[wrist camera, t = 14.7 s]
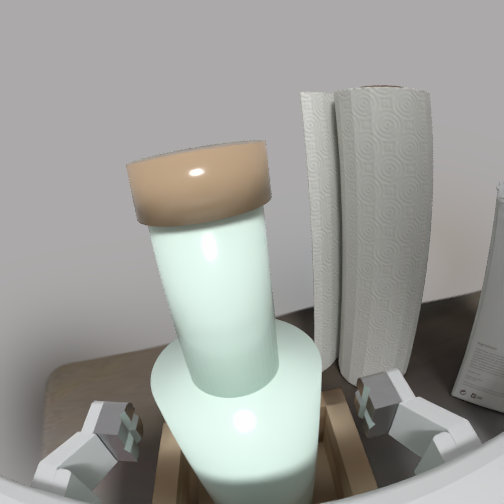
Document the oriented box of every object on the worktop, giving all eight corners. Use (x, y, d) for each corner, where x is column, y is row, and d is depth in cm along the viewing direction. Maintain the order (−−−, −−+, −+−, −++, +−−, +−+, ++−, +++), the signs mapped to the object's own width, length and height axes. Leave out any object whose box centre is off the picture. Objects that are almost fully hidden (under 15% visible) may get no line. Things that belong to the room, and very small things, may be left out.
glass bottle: (277, 457, 16) (235, 139, 10) (330, 507, 12) (366, 136, 6) (208, 495, 14) (76, 174, 7) (255, 555, 10) (88, 187, 3)
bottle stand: (389, 566, 8) (418, 550, 6) (166, 589, 8) (127, 579, 6) (343, 421, 19) (349, 375, 17) (177, 441, 19) (155, 398, 17)
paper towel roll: (413, 353, 24) (432, 93, 16) (395, 400, 20) (424, 82, 12) (342, 335, 29) (336, 94, 20) (313, 376, 24) (299, 88, 16)
